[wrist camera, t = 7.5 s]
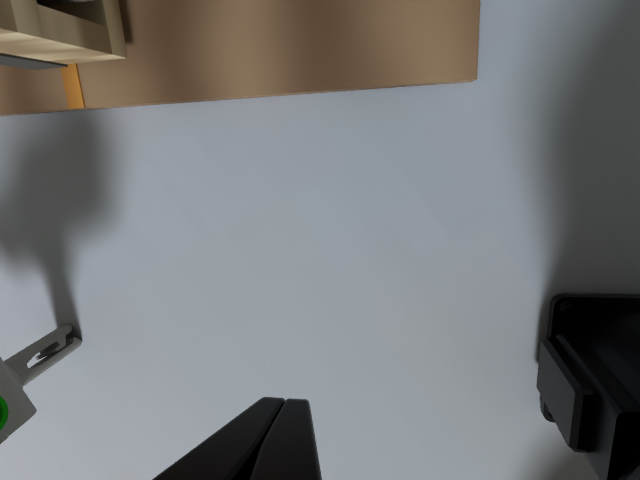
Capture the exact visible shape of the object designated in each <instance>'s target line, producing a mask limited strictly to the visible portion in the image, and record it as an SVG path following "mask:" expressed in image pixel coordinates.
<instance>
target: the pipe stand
mask: <svg viewBox="0 0 640 480" xmlns="http://www.w3.org/2000/svg"><path fill="white" fill-rule="evenodd" d="M36 1H37V4H38V5H41V6H45V7H46V6H54V5H62V4H70V3H77V2H85V1H93V0H36ZM118 2H119V8H120V14H121V20H122V26H123V32H124V38H125V45H126V51H127V57H128V58H125V59H114V60H104V61H94V62H83V63H73V64H67V65H68V67H62V68H52V69H41V70H34V69H26V68H19V67H12V66H5V65H0V116H8V115H21V114H35V113H49V112H63V111H76V110H90V109H104V108H117V107H131V106H145V105H159V104H172V103H186V102H200V101H214V100H227V99H241V98H255V97H268V96H282V95H296V94H310V93H323V92H337V91H351V90H365V89H378V88H392V87H406V86H419V85H433V84H447V83H461V82H472V81H474V80H476V79H477V66H478V41H479V17H480V0H118Z"/></svg>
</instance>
